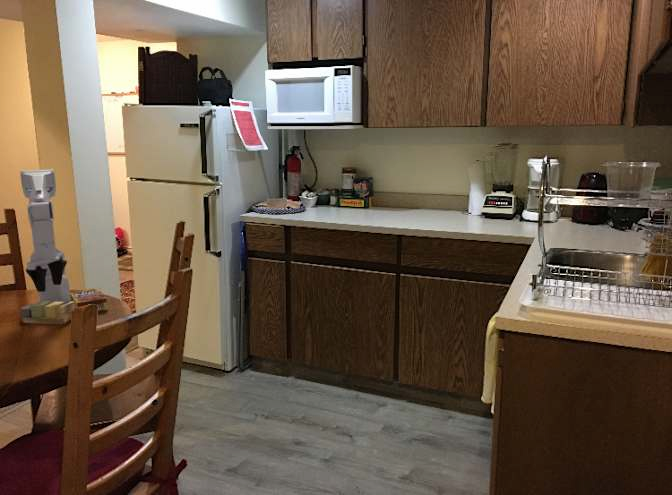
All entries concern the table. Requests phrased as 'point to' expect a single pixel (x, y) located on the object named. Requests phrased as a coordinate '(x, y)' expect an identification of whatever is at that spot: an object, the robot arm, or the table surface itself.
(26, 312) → the bookend
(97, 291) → the candy box
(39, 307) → the olive book
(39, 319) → the tan l-frame
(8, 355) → the table surface
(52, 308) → the yellow thick square block
